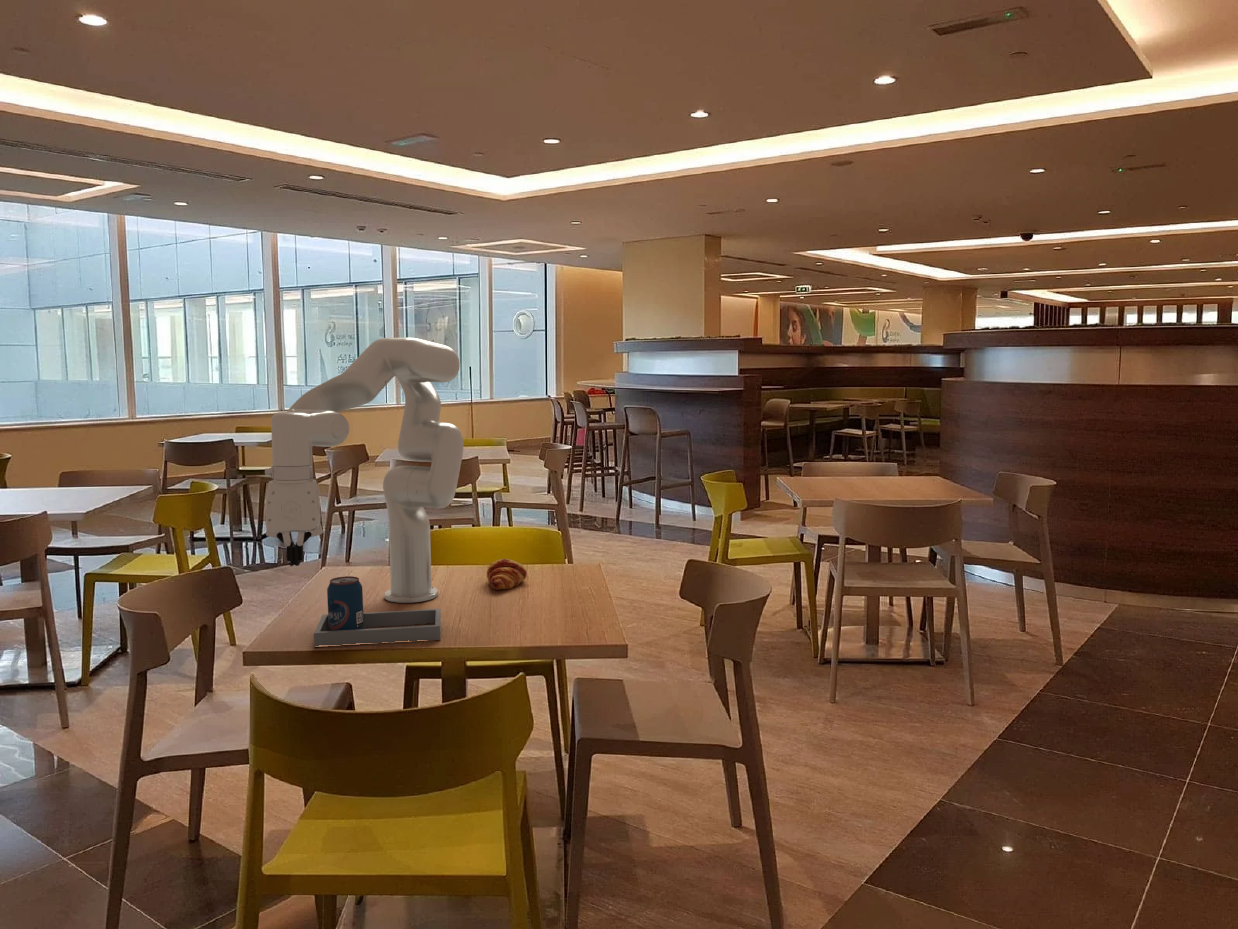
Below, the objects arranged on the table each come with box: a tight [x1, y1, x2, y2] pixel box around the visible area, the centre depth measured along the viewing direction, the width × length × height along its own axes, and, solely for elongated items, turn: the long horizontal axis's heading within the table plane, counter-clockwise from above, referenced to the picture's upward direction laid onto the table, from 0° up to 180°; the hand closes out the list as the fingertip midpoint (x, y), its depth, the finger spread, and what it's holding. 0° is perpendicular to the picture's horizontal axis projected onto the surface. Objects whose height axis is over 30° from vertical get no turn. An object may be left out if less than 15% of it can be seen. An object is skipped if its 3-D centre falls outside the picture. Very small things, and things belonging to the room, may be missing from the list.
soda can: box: [326, 575, 365, 631], centre depth 183 cm, size 7×7×12 cm
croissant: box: [486, 558, 528, 591], centre depth 227 cm, size 21×10×8 cm, turn 175°
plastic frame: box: [313, 608, 442, 647], centre depth 185 cm, size 13×24×3 cm, turn 101°
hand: (295, 564), depth 180 cm, fingers closed
